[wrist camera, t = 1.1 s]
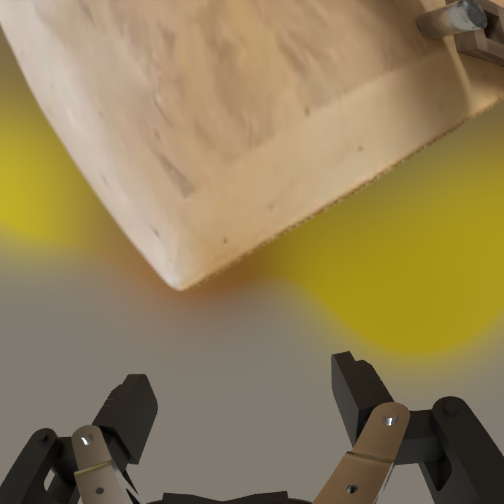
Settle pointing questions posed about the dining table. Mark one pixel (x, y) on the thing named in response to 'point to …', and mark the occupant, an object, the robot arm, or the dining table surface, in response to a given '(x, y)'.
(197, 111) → the dining table surface
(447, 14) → the pin
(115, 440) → the robot arm
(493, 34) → the socket block
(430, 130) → the dining table surface
